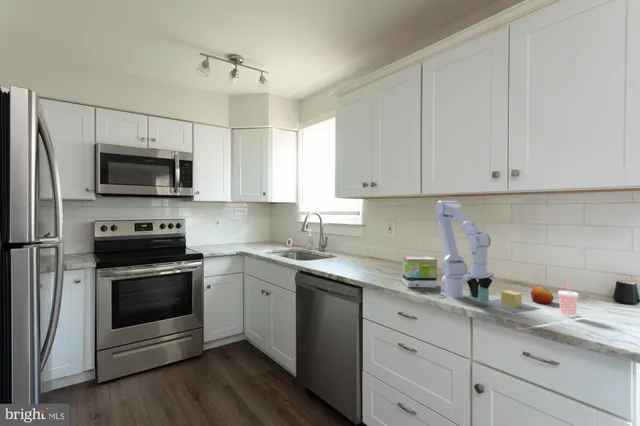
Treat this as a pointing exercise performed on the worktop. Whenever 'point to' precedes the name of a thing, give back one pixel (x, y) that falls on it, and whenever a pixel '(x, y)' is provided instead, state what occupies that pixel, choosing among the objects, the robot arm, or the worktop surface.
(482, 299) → the teal brick
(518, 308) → the baseplate
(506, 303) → the mustard brick
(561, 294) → the beverage cup
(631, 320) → the worktop surface
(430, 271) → the tea box
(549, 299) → the fruit
